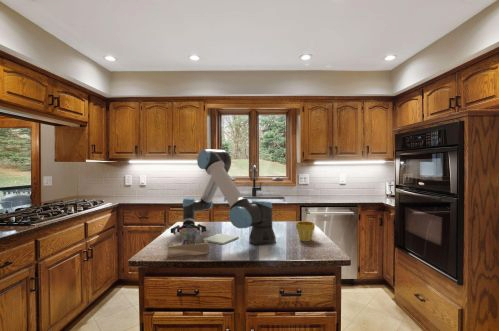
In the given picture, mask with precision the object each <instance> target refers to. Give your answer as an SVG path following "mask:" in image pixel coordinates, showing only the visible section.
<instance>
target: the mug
mask: <svg viewBox="0 0 499 331" xmlns="http://www.w3.org/2000/svg"><path fill="white" fill-rule="evenodd" d="M197 230H198V229H197V228H184V229H180V230H179V232H178V233H180V236H181V245H187V244H197V243H196V236H197V233H198V231H197Z"/></svg>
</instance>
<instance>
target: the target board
mask: <svg viewBox="0 0 499 331" xmlns="http://www.w3.org/2000/svg"><path fill="white" fill-rule="evenodd" d="M238 239H240V238H239V236H237V235H232V234H231V235H230V234H225V233H216V234H214V235H212V236H208V237H205V238H202V242H205V241H207V243H212V244H219V245H222V246H223V245H226V244H228V243H231V242H233V241H236V240H238Z"/></svg>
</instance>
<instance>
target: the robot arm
mask: <svg viewBox="0 0 499 331" xmlns="http://www.w3.org/2000/svg"><path fill="white" fill-rule="evenodd" d="M196 161H197V166H198V168H199V169H201V170H205V172H206V173H207V175H209V176H210V178H209V180H208V182H207V185H206V187H205V189H204V191H203V193H202V195H201V197H200V199H195V198H193V197H185V198H183V199H182V225H181V226H180V225H179V224H177V225H175V226H173V227H172V228H170V234H173V235H174V236H175V237H177V236H178V233H180V232H179V230H180V229H184V228H197V229H198V230H197V232H199V234H200V236H201V235H203V234H202V233H204V232H206V231H207V226H206V225H202V224H200V223H198V224H197V225H196V221H195V215H196V214H195V213H196V212H200V211H207V210H211V209H212V208H213V206H214V205H213V204H214V201H213V199H214V197H215V195H216V193H217V191H218V189H219V190H220V191H221V193H222V195H223V197H224V198H225V200H226V202H227V204H228V205H229V209H228V210H229V213H228V214H229V215H228V216H229V218H228V219H229V221H230V223H231V224H232V225H233V226H234V227H235V228H236V229H247V228H250V227H251V231H250V234H249V238H248V239H249V241H248V242H249V243H250V244H252V245H256V246H257V245H259V246H260V245H261V246H267V245H273V244H275V243H276V241H277V239H276V237H277V236H276V233H275V231H274V227H273V204H272V202H271V201H267V200H265V201H264V200H252V201H251V203H250V201H249V199H248V198H246V197H243V194H242V193H241V192H240V190H239V189H238V187H237V186H236V184H235V182H234V181H233V179H232V178H231V176H230V175H229V172H230V169H231V166H232V159H231V155H230V154H229V152H228V151H226V150H224V149H210V148H209V149H208V148H206V149H205V148H204V149H201V150H200V151H199V153H198V155H197V159H196Z"/></svg>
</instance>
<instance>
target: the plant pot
mask: <svg viewBox="0 0 499 331" xmlns="http://www.w3.org/2000/svg"><path fill="white" fill-rule="evenodd" d="M295 227H296V228H295V229H297V234H298V239H299V241H301V242H310V241H312V239H313V238H312V237H313V232H314V230H315V222H313V221H309V220H308V221H305V220H304V221H303V220H301V221H297V222H296V223H295Z"/></svg>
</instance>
